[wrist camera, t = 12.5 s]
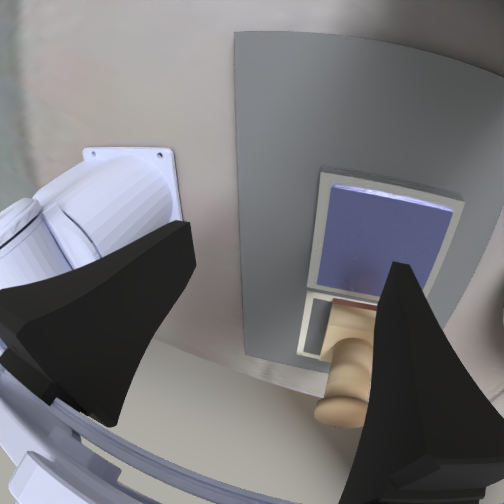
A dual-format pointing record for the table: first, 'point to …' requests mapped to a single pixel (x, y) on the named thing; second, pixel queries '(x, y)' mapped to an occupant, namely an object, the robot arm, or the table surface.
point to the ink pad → (378, 231)
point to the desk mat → (351, 165)
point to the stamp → (347, 364)
